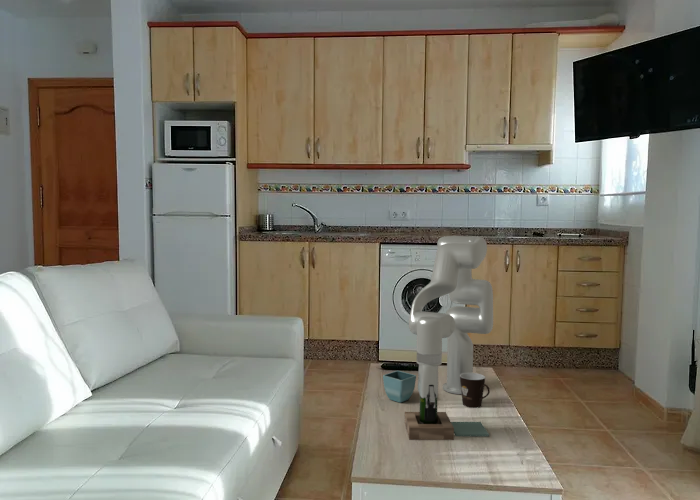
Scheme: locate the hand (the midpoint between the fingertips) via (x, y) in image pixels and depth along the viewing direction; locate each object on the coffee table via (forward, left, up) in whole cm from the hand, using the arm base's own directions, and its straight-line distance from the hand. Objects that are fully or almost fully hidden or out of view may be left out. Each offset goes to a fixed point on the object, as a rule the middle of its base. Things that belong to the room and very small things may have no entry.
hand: (428, 416), depth 161 cm
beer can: (0, 0, -5) cm, 5 cm away
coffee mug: (-22, +19, -5) cm, 29 cm away
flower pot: (-28, -6, -5) cm, 29 cm away
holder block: (0, 0, -4) cm, 4 cm away
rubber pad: (-1, +13, -4) cm, 13 cm away
